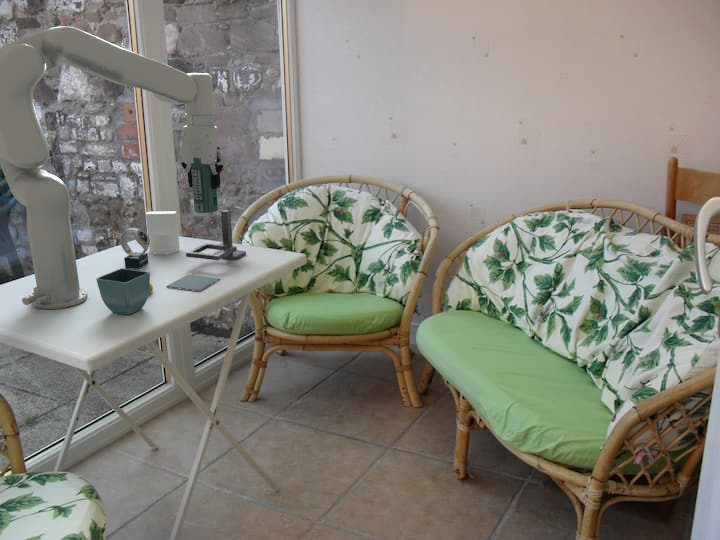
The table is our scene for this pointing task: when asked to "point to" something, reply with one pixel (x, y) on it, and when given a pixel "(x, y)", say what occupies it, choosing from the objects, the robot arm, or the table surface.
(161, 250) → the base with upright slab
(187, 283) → the coaster
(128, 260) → the watch
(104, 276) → the flower pot
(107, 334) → the table surface
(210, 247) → the ring stand
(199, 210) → the can
